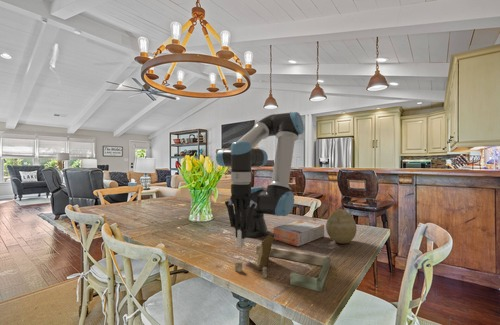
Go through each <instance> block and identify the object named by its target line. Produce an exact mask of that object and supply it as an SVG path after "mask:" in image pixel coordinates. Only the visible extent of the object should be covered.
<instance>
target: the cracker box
mask: <svg viewBox="0 0 500 325" xmlns="http://www.w3.org/2000/svg"><path fill="white" fill-rule="evenodd" d="M324 237H325V224H322V223H321V224H320V223H317V222H311V221H307V220H304V219H303V220H302V219H300V220H296V221H292V222H290V223H284V224H282V225H281V224H280V225H278V226H275V227H273V240H276V241H278V242H282V243H286V244H289V245H292V246H294V247H300V246H303V245H306V244H308V243H310V242H313V241H316V240H319V239H321V238H324Z"/></svg>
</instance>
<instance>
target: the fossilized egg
mask: <svg viewBox="0 0 500 325" xmlns="http://www.w3.org/2000/svg"><path fill="white" fill-rule="evenodd" d="M325 228H326V229H325V230H326V232H327V235H328V237H329V238H330V239H331V240H332V241H333V242H335V243H336V244H347V243H350V242H352V240H353V239H354V238H355V236H356V234H357V229H358V228H357V224H356V220H355V219H354V218H353V216H352V214H350V212H348V211H347V210H345V209H343V208H338V209H335V210H334V211H332V212H331V213H330V214H329V216H328V218H327V219H326V223H325Z"/></svg>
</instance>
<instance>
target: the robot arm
mask: <svg viewBox="0 0 500 325" xmlns="http://www.w3.org/2000/svg"><path fill="white" fill-rule="evenodd" d="M303 133H304V120H303V117H302V115H301V114H300V113H299V112H298V111H295V112H292V111H290V112H284V113H273V114H269V115H267V116H265V117H263V118H261V119H260V120H259V121H257V122H256V123H254V125H253V127H252V128H251V129H250V130H249V131H248V132H247V133H245V134H244V135H243V136H242V137H240V138H239V139H238V140H237V141H233V142H232V143H231V146H229V147H228V148H226V149H225V148H223V149H220V150H218V151H217V153H215V154H216V155H215V161H216V164H218V166H220V167H226V168H228V167H229V168H231V169H230V181H231V184H230V195H231V196H230V199H228V200H226V201H224V204H225V206H226V208H227V213H228V218H229V223H230V227H232V228H234V230H235V238H236V239H237V243H236V244H237V246H236V247H237V248H238V249H242V248H243V247H245V239H246V238H258V237H263V236H267V234H268V226H267V223H266V221H265V215H270V216H277V217H287V216H288V215H290V213H291V212H292V211H293V208H294V205H295V204H294V203H295V195H294V193H293V192H292V188H291V187H290V178H291V169H292V164H293V163H292V162H293V155H294V147H295V142H296V141H298V139H299V136H300V135H302V134H303ZM268 137H275V138H277V145H276V151H275V156H274V157H275V158H274V163H273V169H272V174H271V175H272V176H271V182H270V183H269V184H267V186H266V189H265V187H264V186H253V187H252V184H251V183H252V168H260V167H263V166H265V165H266V164H267V163H268V159H269V157H268V156H269V155H268V153H267V152H266V151H265V150H264V149H261V148H255V147H256V146H257V145H258V144H259V143H260V142H261V141H262V140H265V139H267V138H268Z"/></svg>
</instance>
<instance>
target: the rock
mask: <svg viewBox="0 0 500 325" xmlns="http://www.w3.org/2000/svg"><path fill="white" fill-rule="evenodd" d="M273 241H274V236H272V235H271V234H268V235H265V238H263V241H262V242H261V244H260V245H261V246H260V249H259V251H258V253H257V259H256V263H257V266H258V270H260V271H263V267H268V263H269V261H270V257H271V256H270V251H271V247H273Z"/></svg>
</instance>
